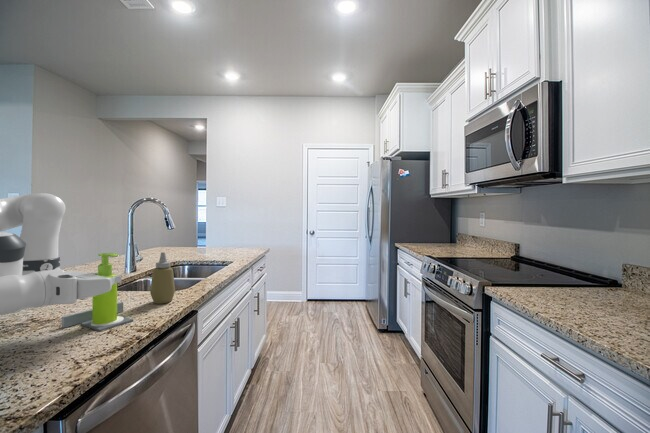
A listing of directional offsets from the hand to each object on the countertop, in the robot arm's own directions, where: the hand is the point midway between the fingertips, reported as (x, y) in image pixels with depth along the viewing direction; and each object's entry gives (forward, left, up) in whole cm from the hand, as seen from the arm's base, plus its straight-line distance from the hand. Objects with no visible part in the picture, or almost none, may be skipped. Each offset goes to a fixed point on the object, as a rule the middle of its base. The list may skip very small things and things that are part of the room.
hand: (110, 276), depth 90 cm
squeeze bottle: (-5, +20, -14) cm, 25 cm away
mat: (0, -1, -13) cm, 14 cm away
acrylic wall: (-7, -1, -13) cm, 15 cm away
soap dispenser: (0, -1, -13) cm, 13 cm away
